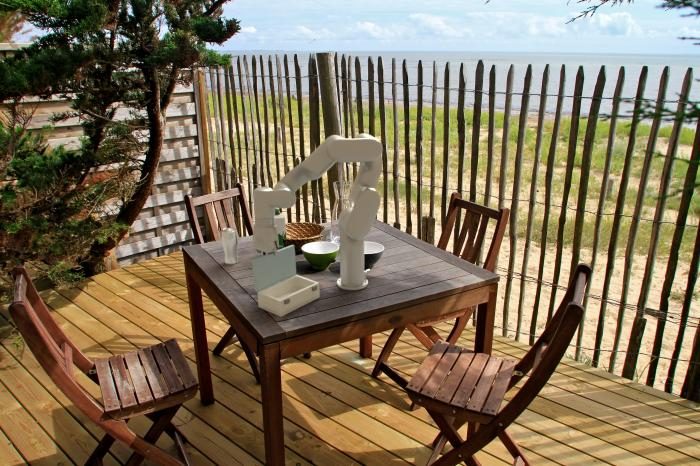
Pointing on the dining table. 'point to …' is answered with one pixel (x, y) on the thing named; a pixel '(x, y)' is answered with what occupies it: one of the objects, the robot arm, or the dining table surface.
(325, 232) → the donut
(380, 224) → the dining table surface
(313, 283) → the box
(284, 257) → the lid
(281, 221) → the milk carton
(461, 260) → the dining table surface
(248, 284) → the dining table surface
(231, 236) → the beer glass
